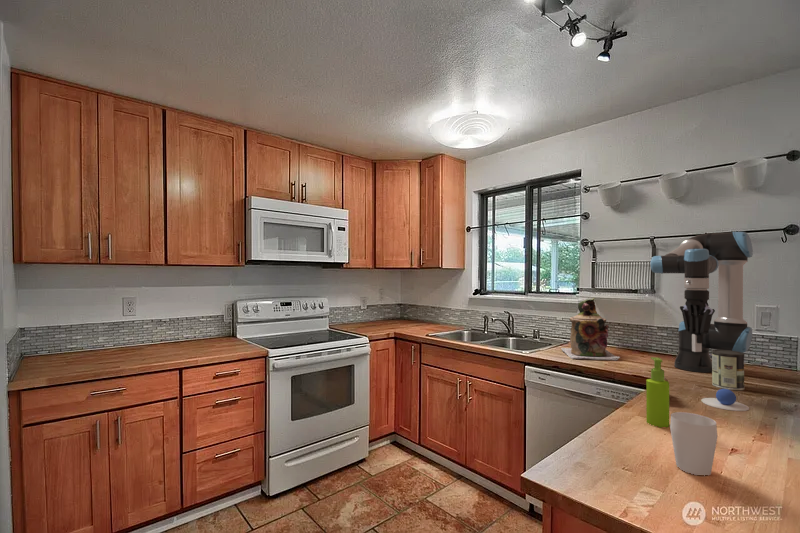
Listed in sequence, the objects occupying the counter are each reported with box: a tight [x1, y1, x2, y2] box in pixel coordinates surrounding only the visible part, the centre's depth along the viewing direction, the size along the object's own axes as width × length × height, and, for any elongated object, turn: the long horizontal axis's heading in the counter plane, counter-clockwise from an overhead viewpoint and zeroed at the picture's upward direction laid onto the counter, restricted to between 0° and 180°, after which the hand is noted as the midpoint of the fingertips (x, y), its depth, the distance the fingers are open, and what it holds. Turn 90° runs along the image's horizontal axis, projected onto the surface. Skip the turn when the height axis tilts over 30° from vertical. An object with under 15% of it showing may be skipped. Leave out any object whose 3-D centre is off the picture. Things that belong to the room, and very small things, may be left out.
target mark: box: [700, 397, 750, 412], centre depth 138 cm, size 13×13×1 cm
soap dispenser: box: [645, 356, 670, 428], centre depth 121 cm, size 6×7×20 cm
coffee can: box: [711, 349, 745, 391], centre depth 160 cm, size 10×10×14 cm
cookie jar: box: [560, 297, 621, 361], centre depth 217 cm, size 25×25×32 cm
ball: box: [715, 388, 737, 405], centre depth 138 cm, size 6×6×6 cm
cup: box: [669, 411, 718, 477], centre depth 93 cm, size 9×9×12 cm
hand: (696, 351), depth 149 cm, fingers closed
